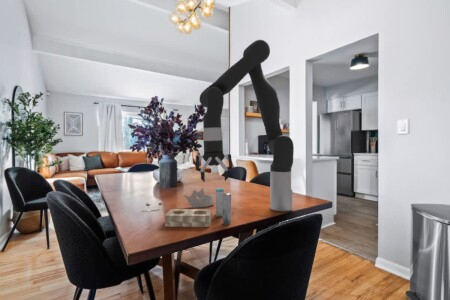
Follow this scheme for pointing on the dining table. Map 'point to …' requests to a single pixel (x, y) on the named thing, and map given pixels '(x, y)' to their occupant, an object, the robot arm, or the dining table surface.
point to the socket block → (188, 218)
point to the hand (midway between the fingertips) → (214, 180)
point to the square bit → (219, 201)
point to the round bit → (226, 208)
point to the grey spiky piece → (200, 199)
